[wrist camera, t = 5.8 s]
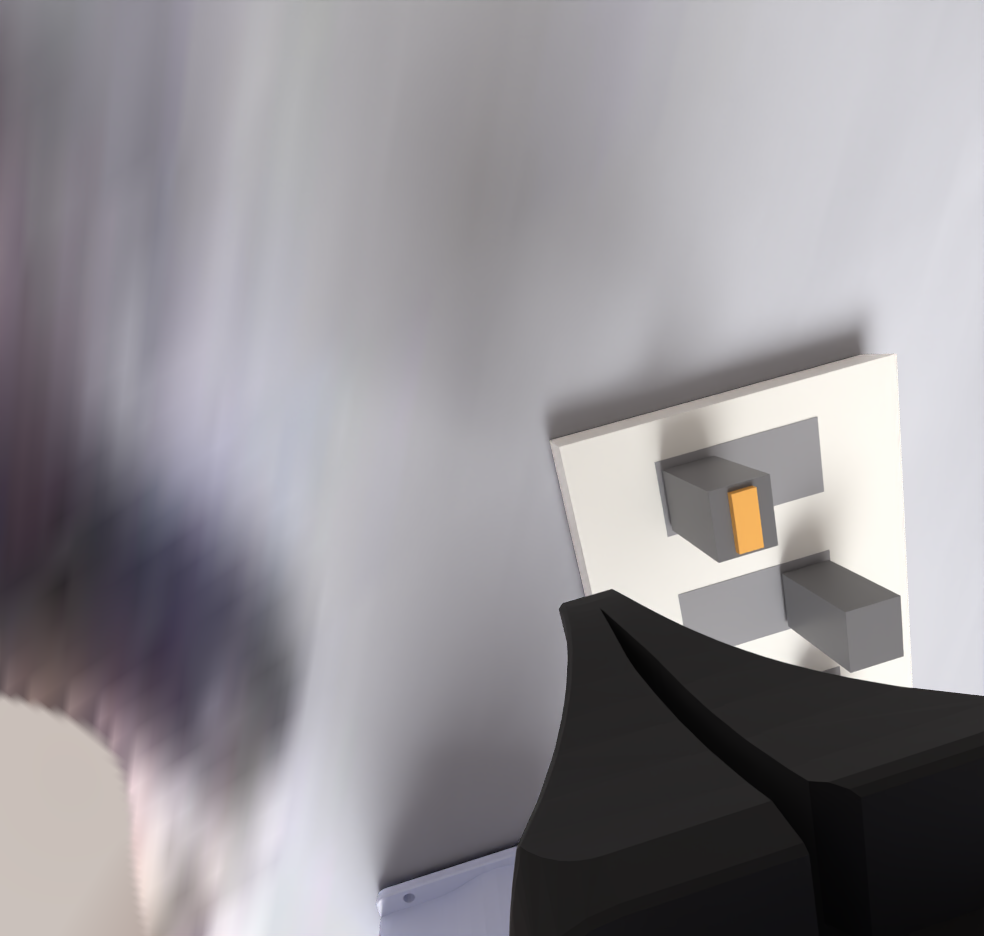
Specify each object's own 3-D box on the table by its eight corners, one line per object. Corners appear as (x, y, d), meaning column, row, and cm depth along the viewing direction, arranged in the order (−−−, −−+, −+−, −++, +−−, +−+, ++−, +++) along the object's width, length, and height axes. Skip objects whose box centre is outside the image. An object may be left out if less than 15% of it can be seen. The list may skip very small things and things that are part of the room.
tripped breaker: (672, 530, 18) (722, 565, 15) (662, 469, 17) (711, 493, 14) (722, 515, 18) (782, 548, 15) (713, 455, 17) (774, 475, 14)
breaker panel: (628, 786, 22) (678, 895, 18) (549, 440, 18) (586, 465, 14) (884, 705, 23) (994, 790, 18) (861, 354, 19) (996, 351, 14)
